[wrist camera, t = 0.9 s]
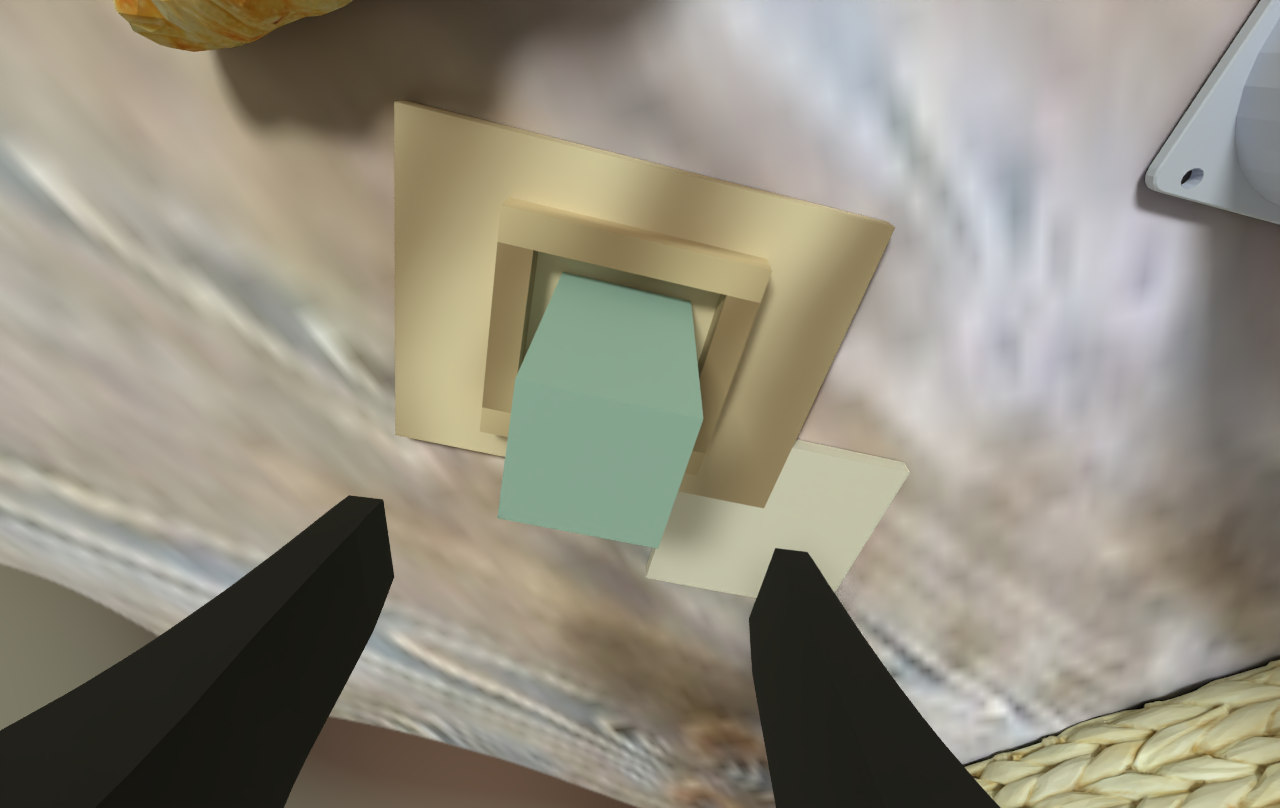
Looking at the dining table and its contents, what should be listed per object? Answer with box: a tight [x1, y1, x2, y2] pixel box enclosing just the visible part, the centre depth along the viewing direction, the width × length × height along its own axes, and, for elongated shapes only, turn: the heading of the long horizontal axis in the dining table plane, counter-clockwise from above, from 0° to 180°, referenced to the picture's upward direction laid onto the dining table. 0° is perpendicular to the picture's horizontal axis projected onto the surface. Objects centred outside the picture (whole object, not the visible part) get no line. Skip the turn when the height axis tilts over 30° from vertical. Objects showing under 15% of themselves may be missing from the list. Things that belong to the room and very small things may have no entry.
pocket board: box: [394, 100, 895, 508], centre depth 18 cm, size 14×11×2 cm
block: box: [498, 272, 703, 549], centre depth 16 cm, size 4×4×6 cm
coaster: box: [646, 440, 910, 598], centre depth 23 cm, size 8×8×1 cm
